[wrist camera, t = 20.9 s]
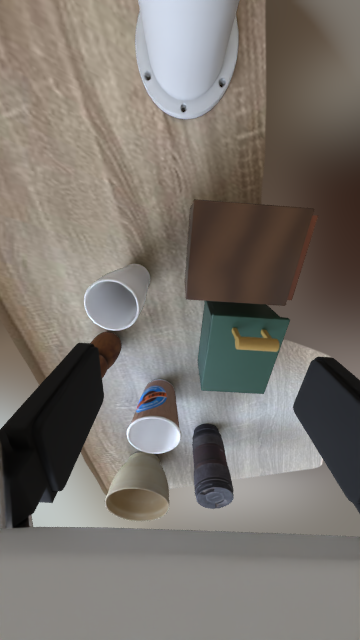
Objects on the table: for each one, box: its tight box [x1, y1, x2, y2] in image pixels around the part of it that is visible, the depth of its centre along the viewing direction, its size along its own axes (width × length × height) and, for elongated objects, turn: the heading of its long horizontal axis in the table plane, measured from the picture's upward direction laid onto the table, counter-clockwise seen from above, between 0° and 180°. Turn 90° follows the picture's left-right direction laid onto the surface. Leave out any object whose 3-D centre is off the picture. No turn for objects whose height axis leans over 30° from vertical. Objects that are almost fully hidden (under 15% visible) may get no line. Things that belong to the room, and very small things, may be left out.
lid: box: [201, 313, 290, 394], centre depth 32 cm, size 15×12×5 cm
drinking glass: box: [84, 264, 151, 330], centre depth 31 cm, size 7×7×15 cm
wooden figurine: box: [90, 332, 121, 378], centre depth 36 cm, size 7×6×15 cm
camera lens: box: [192, 424, 233, 509], centre depth 48 cm, size 8×8×15 cm
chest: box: [198, 301, 279, 384], centre depth 39 cm, size 15×12×8 cm
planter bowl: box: [105, 452, 169, 521], centre depth 55 cm, size 16×16×11 cm
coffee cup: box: [127, 379, 181, 454], centre depth 43 cm, size 10×10×12 cm
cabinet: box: [185, 200, 314, 306], centre depth 31 cm, size 14×12×11 cm
